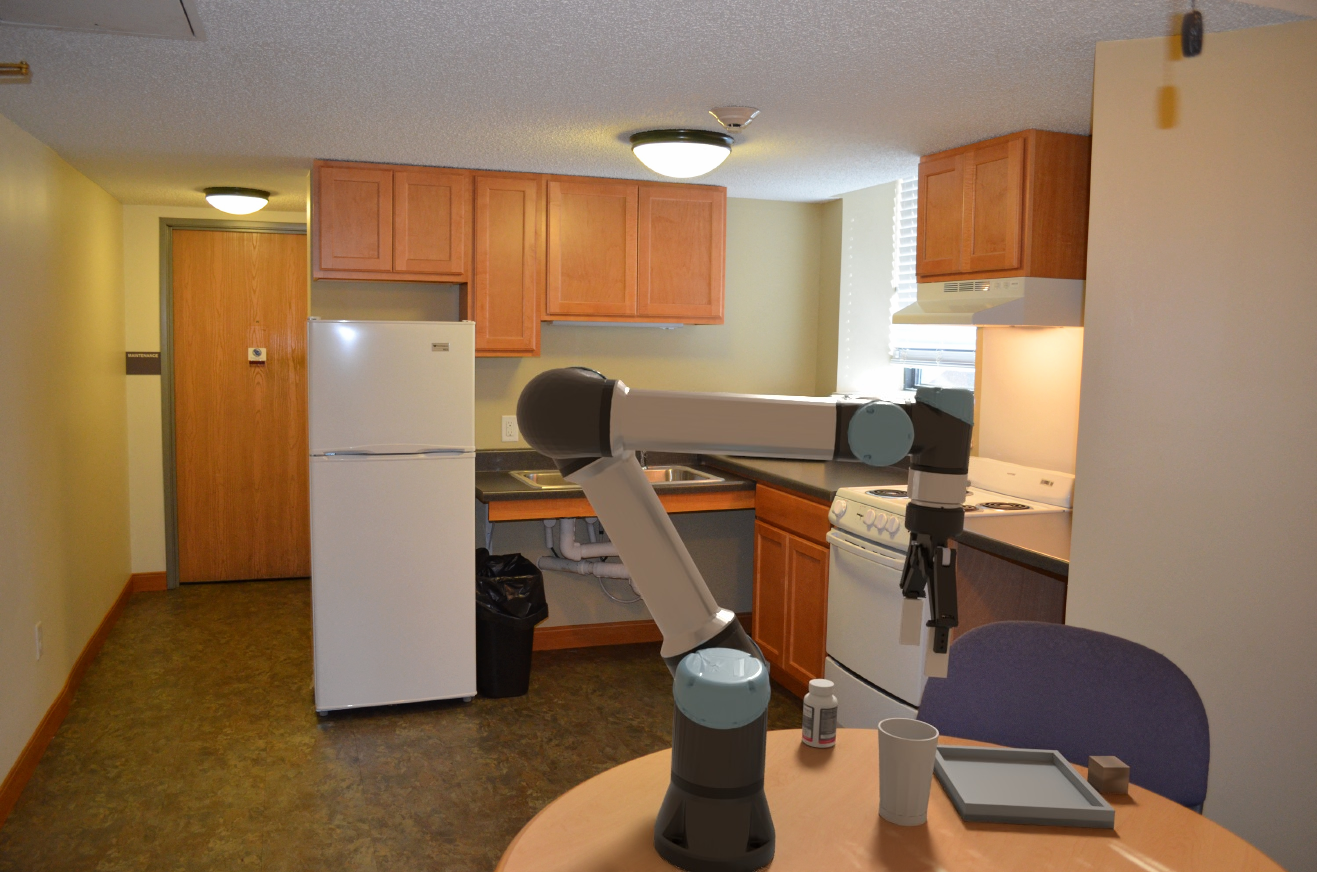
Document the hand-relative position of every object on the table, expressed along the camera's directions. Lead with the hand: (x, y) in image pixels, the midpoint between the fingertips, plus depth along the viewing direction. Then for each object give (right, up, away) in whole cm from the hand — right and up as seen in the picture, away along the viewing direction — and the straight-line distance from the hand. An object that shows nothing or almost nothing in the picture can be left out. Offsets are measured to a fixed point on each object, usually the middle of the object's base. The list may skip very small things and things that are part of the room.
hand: (921, 659), depth 130 cm
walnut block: (+31, -22, +13) cm, 40 cm away
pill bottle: (-10, -19, +26) cm, 34 cm away
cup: (-2, -22, +2) cm, 22 cm away
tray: (+16, -21, +10) cm, 29 cm away
